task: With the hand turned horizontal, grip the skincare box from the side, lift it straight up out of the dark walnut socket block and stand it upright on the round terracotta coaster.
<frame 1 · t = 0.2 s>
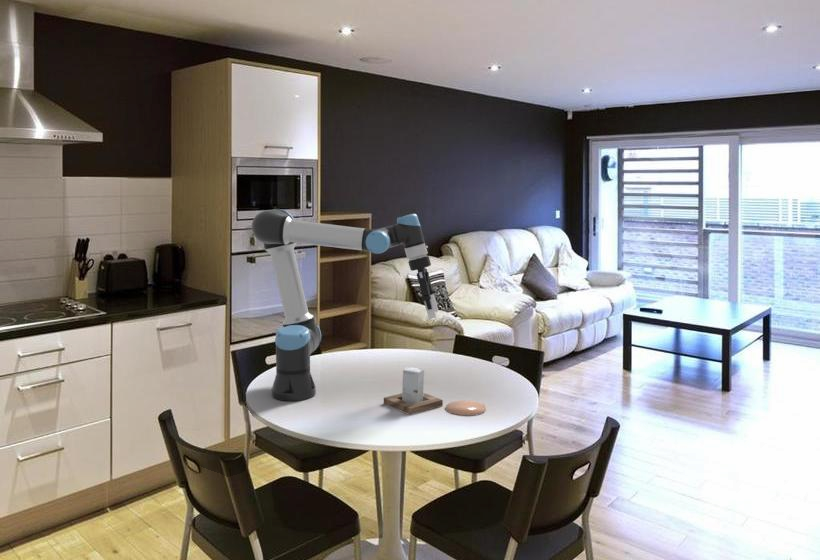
hand: (433, 315, 234), 27 cm above the table, tool tilted 15°, fingers open, 13 cm apart
socket block: (412, 404, 220), on the table
skincare box: (412, 405, 220), resting in socket block
coaster: (465, 408, 216), on the table
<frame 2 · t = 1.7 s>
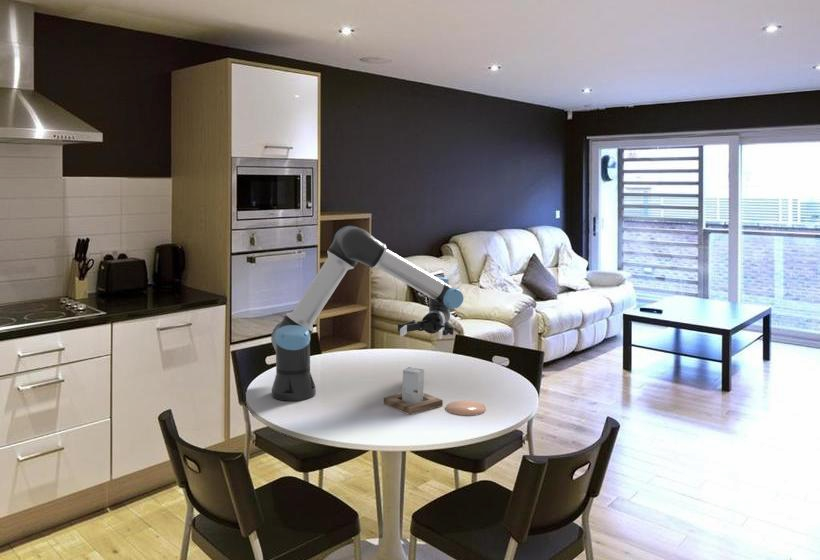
hand: (420, 334, 226), 22 cm above the table, tool horizontal, fingers open, 13 cm apart
nothing on the table moved.
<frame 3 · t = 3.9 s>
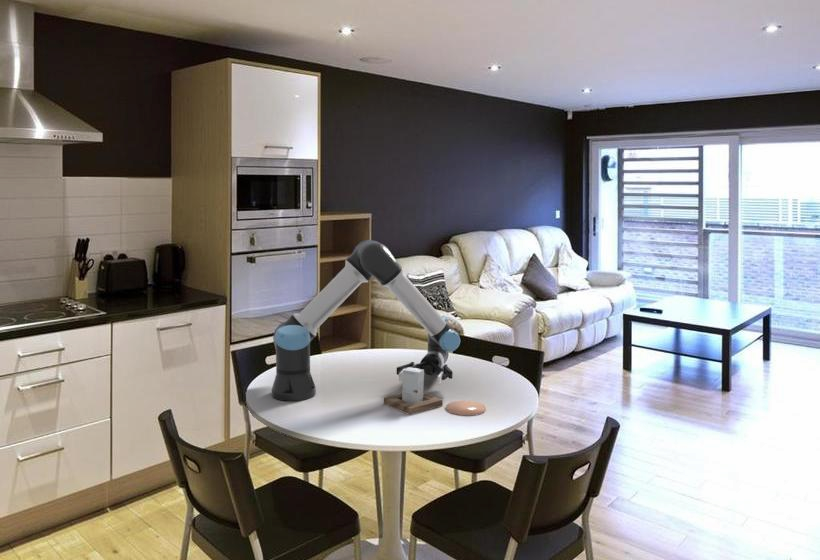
hand: (419, 379, 226), 7 cm above the table, tool horizontal, fingers open, 13 cm apart
nothing on the table moved.
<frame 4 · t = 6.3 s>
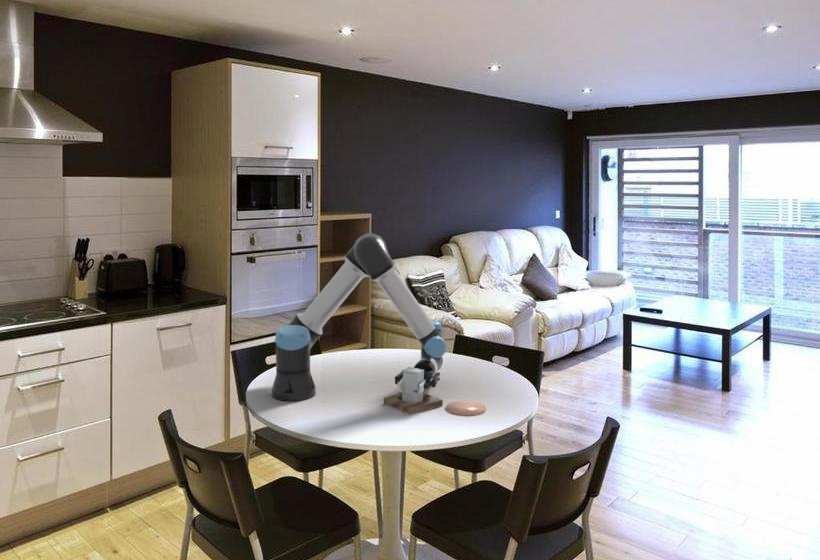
hand: (409, 388, 214), 7 cm above the table, tool horizontal, fingers closed on skincare box, 7 cm apart
skincare box: (412, 405, 220), resting in socket block, touching gripper
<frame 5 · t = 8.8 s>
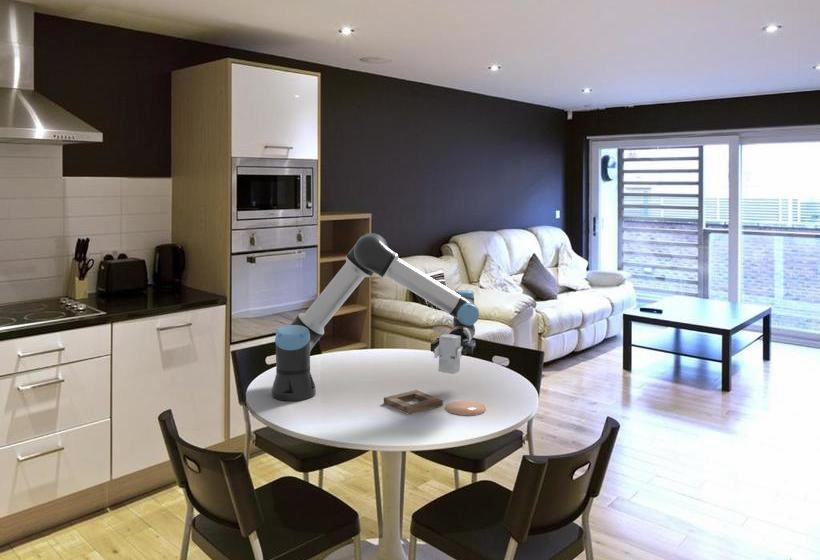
hand: (446, 354, 210), 19 cm above the table, tool horizontal, fingers closed on skincare box, 7 cm apart
skincare box: (449, 372, 216), point 12 cm above the table, touching gripper
when the fingers open (9 cm above the table, at t = 11.3 s): skincare box drops 1 cm, resting on coaster.
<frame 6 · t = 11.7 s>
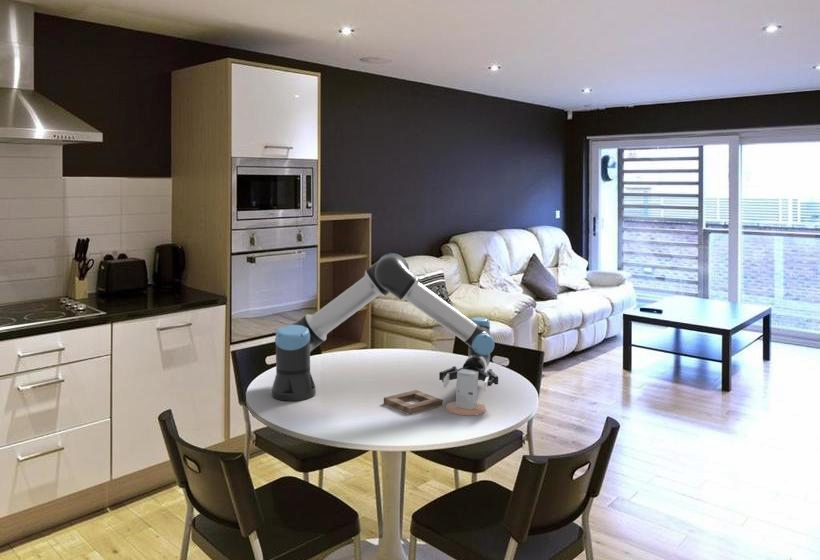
hand: (464, 384, 211), 9 cm above the table, tool horizontal, fingers open, 12 cm apart
skincare box: (466, 407, 216), resting on coaster
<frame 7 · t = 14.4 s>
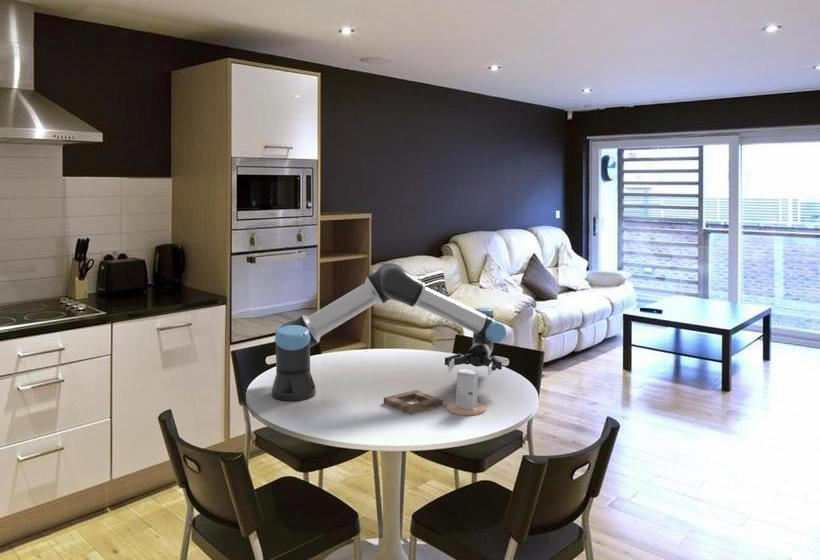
hand: (469, 369, 224), 11 cm above the table, tool horizontal, fingers open, 13 cm apart
nothing on the table moved.
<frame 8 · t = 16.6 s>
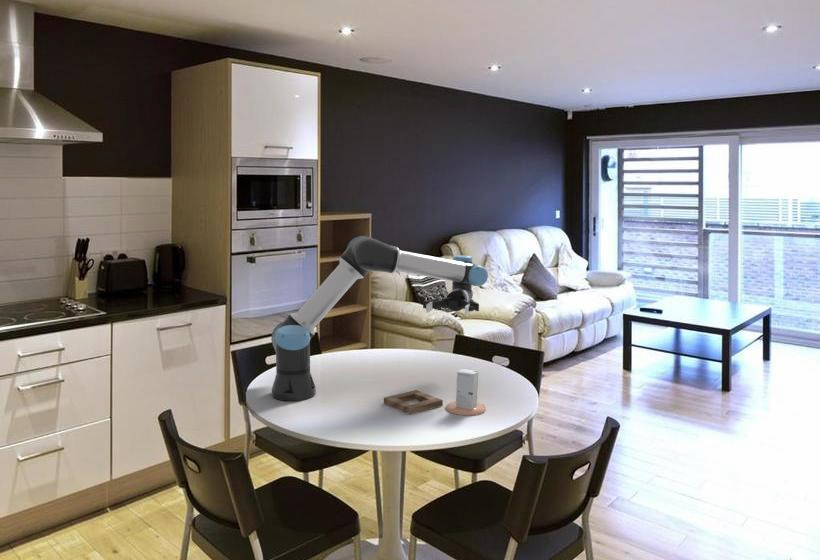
hand: (446, 309, 228), 30 cm above the table, tool horizontal, fingers open, 13 cm apart
nothing on the table moved.
at the end: skincare box inside the target area on the coaster (0.3 cm from its centre), point 0.4 cm above the coaster's base; skincare box tilted 0°; the gripper is holding nothing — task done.
